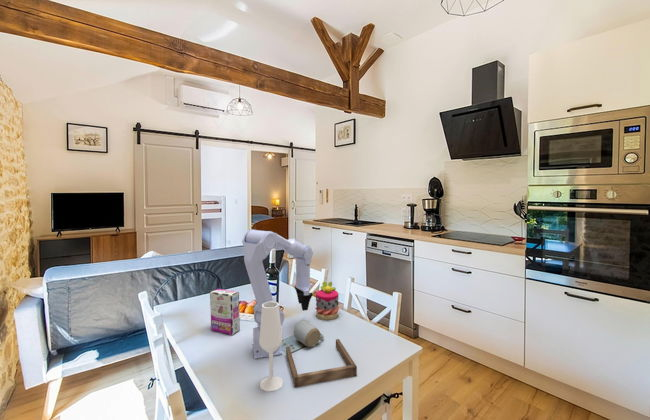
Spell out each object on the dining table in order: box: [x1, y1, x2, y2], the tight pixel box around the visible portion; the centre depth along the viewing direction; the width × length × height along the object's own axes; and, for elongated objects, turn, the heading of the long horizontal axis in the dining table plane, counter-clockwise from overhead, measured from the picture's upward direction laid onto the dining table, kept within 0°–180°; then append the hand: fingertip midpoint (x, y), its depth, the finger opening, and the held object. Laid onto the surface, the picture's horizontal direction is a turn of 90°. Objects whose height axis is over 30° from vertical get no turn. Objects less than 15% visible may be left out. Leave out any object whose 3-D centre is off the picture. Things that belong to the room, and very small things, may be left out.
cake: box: [315, 281, 340, 321], centre depth 131 cm, size 10×11×15 cm
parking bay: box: [285, 338, 358, 388], centre depth 94 cm, size 19×17×3 cm
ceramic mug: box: [293, 319, 324, 348], centre depth 109 cm, size 11×8×8 cm
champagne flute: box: [259, 301, 284, 392], centre depth 84 cm, size 7×7×24 cm
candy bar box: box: [209, 288, 241, 336], centre depth 117 cm, size 11×5×16 cm, turn 68°
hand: (303, 306), depth 119 cm, fingers open, 7 cm apart
